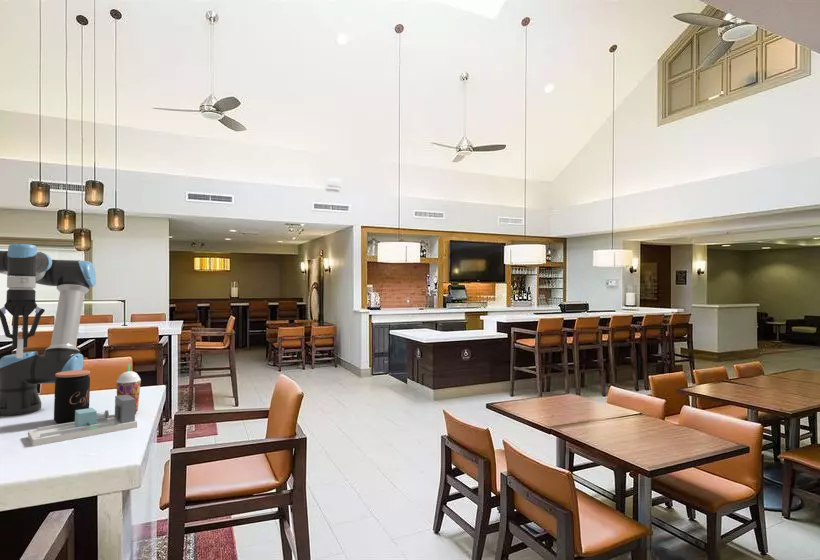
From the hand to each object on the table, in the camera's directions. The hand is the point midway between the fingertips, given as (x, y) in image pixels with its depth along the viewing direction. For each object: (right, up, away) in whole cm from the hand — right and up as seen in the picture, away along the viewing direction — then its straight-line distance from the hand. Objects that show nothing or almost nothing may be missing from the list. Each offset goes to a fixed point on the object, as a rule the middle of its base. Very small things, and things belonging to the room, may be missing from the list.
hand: (19, 357), depth 154 cm
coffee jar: (+6, -27, +15) cm, 31 cm away
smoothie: (+22, -27, +24) cm, 42 cm away
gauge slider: (+24, -24, +3) cm, 34 cm away
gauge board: (+21, -26, +2) cm, 33 cm away
